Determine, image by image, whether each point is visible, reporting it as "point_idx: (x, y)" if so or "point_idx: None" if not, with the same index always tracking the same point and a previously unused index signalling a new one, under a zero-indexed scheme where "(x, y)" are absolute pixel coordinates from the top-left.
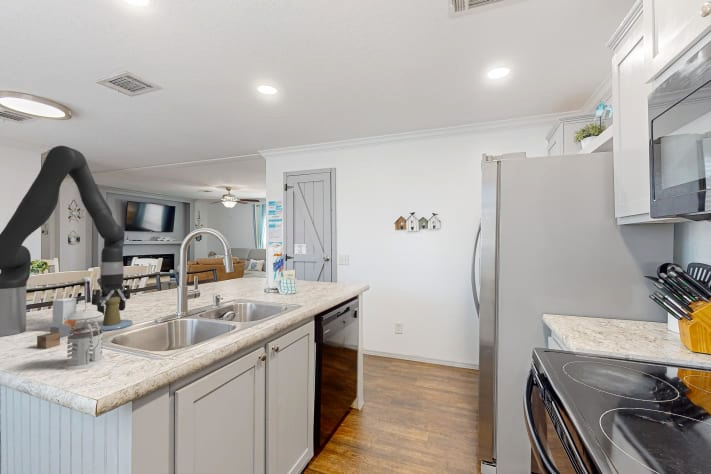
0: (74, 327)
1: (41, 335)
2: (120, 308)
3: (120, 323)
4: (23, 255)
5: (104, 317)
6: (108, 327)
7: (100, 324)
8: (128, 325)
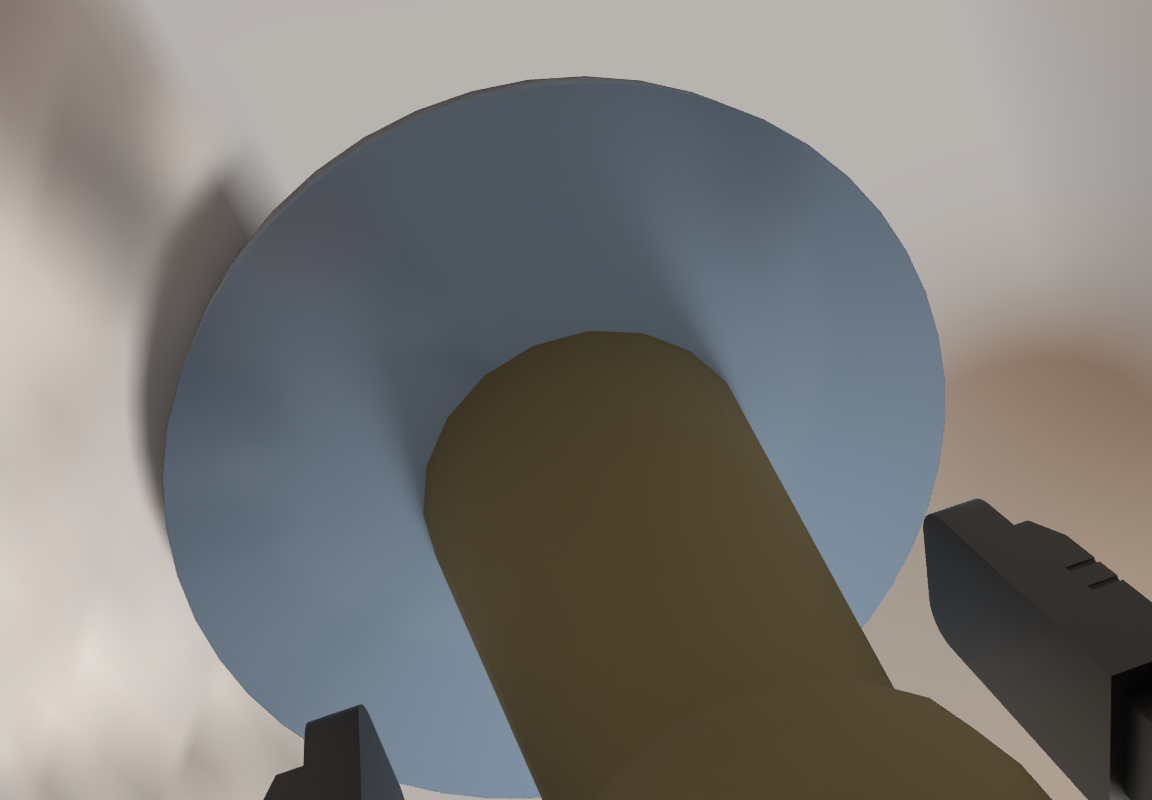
0: None
1: None
2: (959, 587)
3: None
4: None
5: (471, 597)
6: (414, 723)
7: (432, 347)
8: None
